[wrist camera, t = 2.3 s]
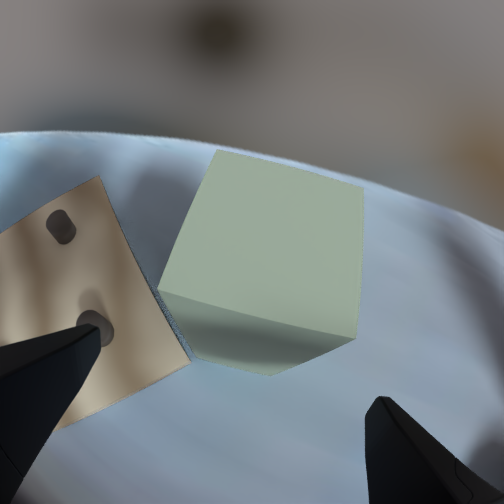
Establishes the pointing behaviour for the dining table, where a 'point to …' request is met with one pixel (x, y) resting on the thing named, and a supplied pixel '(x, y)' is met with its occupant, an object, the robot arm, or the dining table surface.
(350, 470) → the dining table surface
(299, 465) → the dining table surface
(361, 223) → the sage block
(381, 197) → the dining table surface
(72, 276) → the peg board
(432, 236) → the dining table surface
